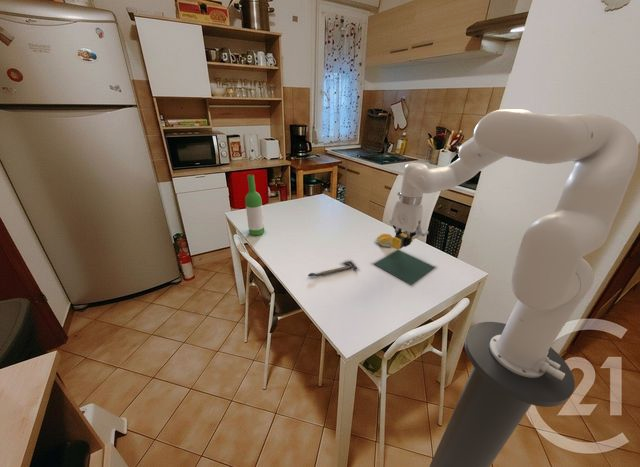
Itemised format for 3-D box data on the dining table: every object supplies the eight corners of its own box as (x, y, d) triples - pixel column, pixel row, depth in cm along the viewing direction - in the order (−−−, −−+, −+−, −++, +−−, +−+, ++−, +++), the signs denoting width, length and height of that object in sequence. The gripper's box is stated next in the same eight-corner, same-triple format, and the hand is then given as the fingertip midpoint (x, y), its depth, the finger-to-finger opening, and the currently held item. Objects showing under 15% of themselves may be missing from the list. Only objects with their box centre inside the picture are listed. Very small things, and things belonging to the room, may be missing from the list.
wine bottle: (266, 229, 138) (261, 173, 124) (262, 236, 132) (256, 178, 118) (252, 228, 139) (245, 172, 125) (247, 235, 132) (239, 177, 118)
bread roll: (391, 238, 132) (392, 231, 130) (395, 247, 124) (397, 239, 122) (374, 238, 132) (375, 231, 130) (378, 247, 124) (379, 239, 122)
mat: (434, 267, 110) (434, 267, 110) (411, 284, 99) (411, 284, 99) (398, 250, 122) (398, 249, 122) (373, 264, 111) (373, 263, 111)
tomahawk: (350, 262, 113) (350, 260, 113) (357, 270, 108) (357, 267, 107) (304, 271, 107) (304, 268, 106) (309, 279, 101) (309, 276, 101)
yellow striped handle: (428, 234, 110) (430, 225, 108) (399, 250, 98) (401, 241, 96) (418, 230, 113) (420, 221, 111) (389, 246, 101) (391, 236, 99)
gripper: (385, 195, 97) (379, 238, 105) (426, 208, 86) (416, 255, 94) (397, 191, 101) (390, 233, 110) (437, 203, 90) (426, 248, 99)
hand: (402, 243), depth 102 cm, fingers closed on yellow striped handle, 3 cm apart
